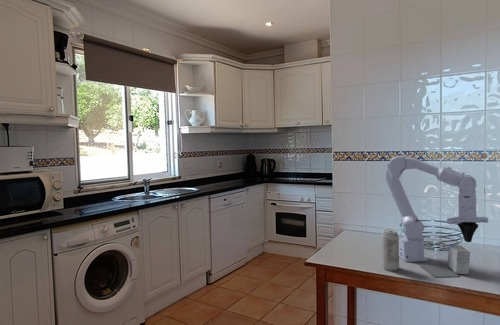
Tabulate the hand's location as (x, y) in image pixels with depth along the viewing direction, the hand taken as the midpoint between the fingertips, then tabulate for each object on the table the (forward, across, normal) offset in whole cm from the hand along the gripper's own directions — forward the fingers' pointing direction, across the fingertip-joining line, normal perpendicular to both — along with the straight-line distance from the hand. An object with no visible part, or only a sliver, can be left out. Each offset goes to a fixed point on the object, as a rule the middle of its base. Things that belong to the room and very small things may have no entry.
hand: (467, 241), depth 125 cm
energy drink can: (+10, -30, +1) cm, 31 cm away
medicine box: (+10, -6, -3) cm, 12 cm away
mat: (+10, -13, -3) cm, 17 cm away
